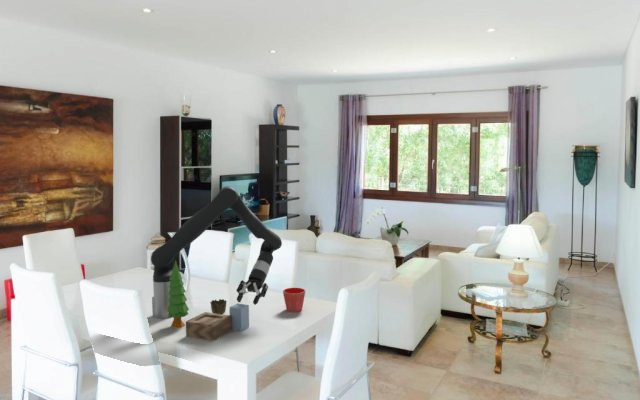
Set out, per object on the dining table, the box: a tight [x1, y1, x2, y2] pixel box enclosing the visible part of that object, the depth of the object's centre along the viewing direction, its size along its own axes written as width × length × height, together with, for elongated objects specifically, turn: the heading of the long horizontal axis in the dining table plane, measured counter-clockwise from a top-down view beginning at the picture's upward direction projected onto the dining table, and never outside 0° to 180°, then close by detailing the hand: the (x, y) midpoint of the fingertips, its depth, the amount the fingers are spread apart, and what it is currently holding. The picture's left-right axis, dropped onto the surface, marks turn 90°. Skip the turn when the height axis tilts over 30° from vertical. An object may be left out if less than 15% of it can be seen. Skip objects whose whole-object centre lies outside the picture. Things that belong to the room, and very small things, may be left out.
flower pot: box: [282, 287, 306, 313], centre depth 259 cm, size 11×11×10 cm
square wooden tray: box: [185, 311, 233, 341], centre depth 225 cm, size 14×14×7 cm
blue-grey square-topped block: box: [229, 302, 250, 332], centre depth 232 cm, size 6×6×10 cm
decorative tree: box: [167, 259, 190, 329], centre depth 234 cm, size 10×9×30 cm
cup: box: [210, 298, 227, 315], centre depth 247 cm, size 8×7×8 cm
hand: (246, 302), depth 236 cm, fingers open, 8 cm apart
